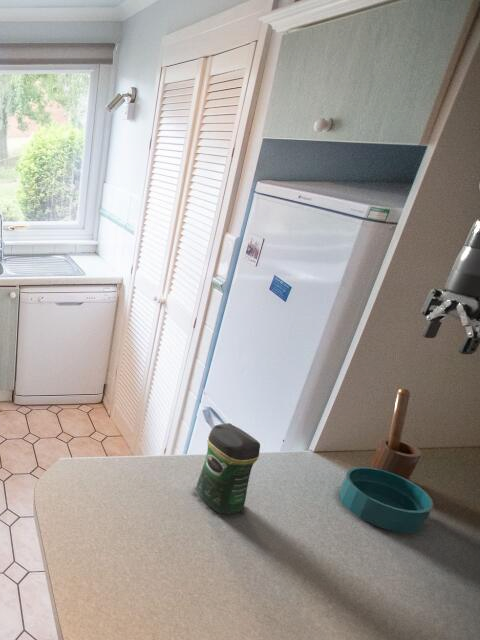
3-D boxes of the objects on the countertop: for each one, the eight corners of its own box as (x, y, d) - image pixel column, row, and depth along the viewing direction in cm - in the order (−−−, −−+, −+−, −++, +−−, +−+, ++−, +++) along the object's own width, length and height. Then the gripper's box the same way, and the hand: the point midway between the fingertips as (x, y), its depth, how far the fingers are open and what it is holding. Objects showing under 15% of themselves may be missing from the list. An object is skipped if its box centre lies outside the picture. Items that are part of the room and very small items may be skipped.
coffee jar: (249, 512, 100) (271, 442, 92) (219, 519, 98) (239, 448, 90) (217, 483, 108) (234, 417, 101) (188, 489, 106) (204, 422, 99)
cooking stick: (389, 471, 110) (405, 386, 101) (395, 477, 108) (413, 390, 99) (380, 472, 110) (395, 387, 101) (386, 478, 108) (403, 391, 99)
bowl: (386, 488, 106) (396, 467, 104) (440, 536, 93) (453, 514, 91) (323, 486, 107) (331, 465, 105) (368, 533, 94) (378, 511, 92)
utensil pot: (390, 468, 113) (404, 438, 109) (414, 488, 106) (430, 457, 102) (360, 467, 113) (372, 437, 109) (382, 487, 106) (396, 456, 103)
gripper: (539, 280, 82) (498, 360, 89) (465, 261, 95) (434, 332, 102) (495, 279, 83) (458, 359, 89) (428, 261, 96) (399, 332, 102)
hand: (445, 345), depth 96 cm, fingers open, 8 cm apart
